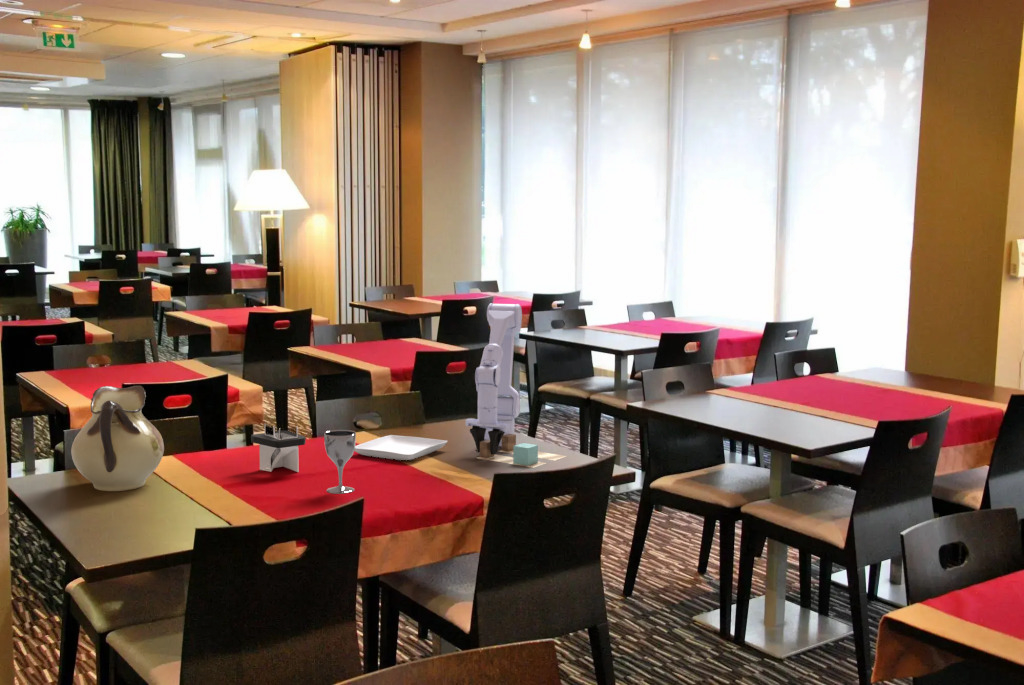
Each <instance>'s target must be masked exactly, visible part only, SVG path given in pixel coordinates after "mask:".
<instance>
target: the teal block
mask: <svg viewBox="0 0 1024 685" xmlns="http://www.w3.org/2000/svg"><path fill="white" fill-rule="evenodd" d="M538 452H539V445H538V444H532V443H525V442H523V443H519V444H516V445H515V446H513V454H512V456H513V463H515V464H521V465H527V466H529V465H532V464H535V463H538V462H539V458H538Z"/></svg>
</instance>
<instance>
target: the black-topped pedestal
mask: <svg viewBox="0 0 1024 685" xmlns="http://www.w3.org/2000/svg"><path fill="white" fill-rule="evenodd" d="M250 435H251V436H250V443H253V444H258V445H259V470H260V471H266V472H272V471H273V470H274V469H275V468H281V467H283V468H286V469H288V470H291V471H294V472H297V473H299V471H300V470H299V468H300V467H299V463H300V462H299V461H300V460H299V446H304V445H306V436H304V435H302V434H299V427H298V425H296V426H291V427H285V428H281V427H280V428H279V429H277V428H276V426H274V425H273V426H272V425H269V424H266V423H264V432H263V433H262V432H261V433H255V434H250Z"/></svg>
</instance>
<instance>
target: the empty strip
mask: <svg viewBox="0 0 1024 685" xmlns="http://www.w3.org/2000/svg"><path fill="white" fill-rule="evenodd" d="M515 445H517V435H516V434H515V433H514V434H506V435H503V437H502V446H501V449H500V450H497V453H498V452H499V453H504V454H505V453H507V454H511V455H513V446H515ZM567 457H568V456H567V455H562V454H556V453H549V452H543V451H538V459H542V460H549V461H557V460H561V459H563V458H567Z"/></svg>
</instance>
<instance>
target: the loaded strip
mask: <svg viewBox="0 0 1024 685" xmlns="http://www.w3.org/2000/svg"><path fill="white" fill-rule="evenodd" d="M476 459H479V460H485V461H491V462H498V463H503V464H510V465H515V466H521V467H528V468H533V469H535V468H537V467H540V466H543V465H546V464H547V462H545V461H544V462H543V461H538V463H535V464H532V465H529V466H527V465H521V464H515V463H513V457H512V456H506V455H501V454H494V455H491V452H490V440H485V441H481V442H480V453H479V456H478V457H476Z"/></svg>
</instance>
